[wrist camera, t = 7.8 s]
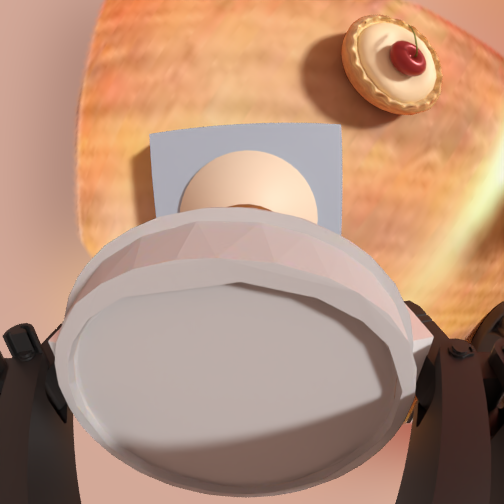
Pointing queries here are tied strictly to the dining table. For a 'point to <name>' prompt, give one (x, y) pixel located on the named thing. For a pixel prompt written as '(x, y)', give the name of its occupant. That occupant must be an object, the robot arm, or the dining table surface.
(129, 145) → the dining table surface
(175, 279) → the disposable coffee cup
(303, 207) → the serving stand
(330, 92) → the dining table surface
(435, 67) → the pastry
